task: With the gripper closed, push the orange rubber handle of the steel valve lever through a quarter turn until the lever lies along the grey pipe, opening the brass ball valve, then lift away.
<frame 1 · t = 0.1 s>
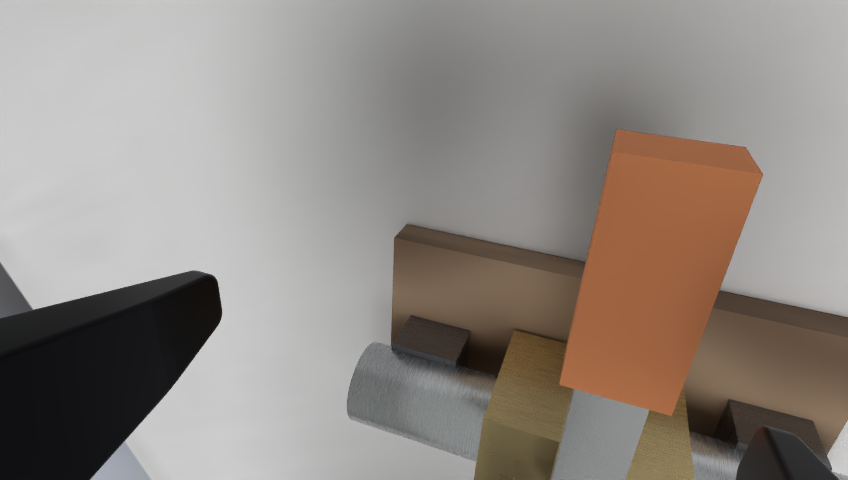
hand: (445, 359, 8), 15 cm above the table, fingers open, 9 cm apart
valve base: (585, 375, 25), on the table
lever: (601, 423, 14), point 10 cm above the table, hinge at 0.0°
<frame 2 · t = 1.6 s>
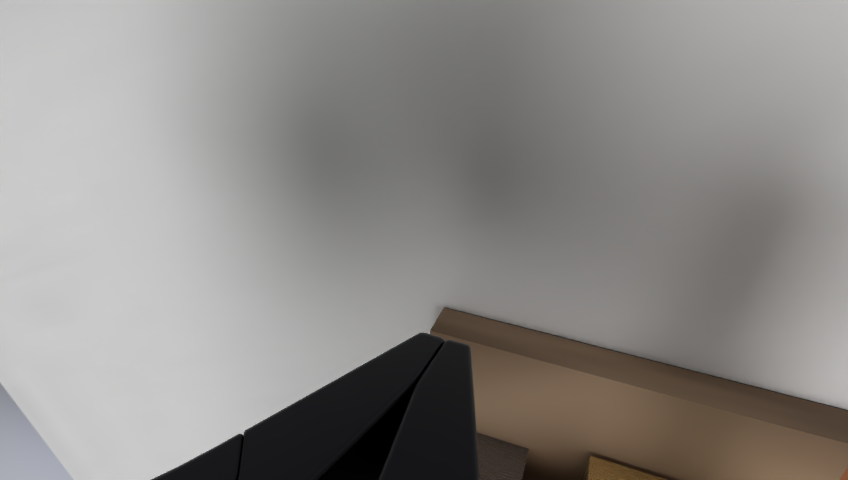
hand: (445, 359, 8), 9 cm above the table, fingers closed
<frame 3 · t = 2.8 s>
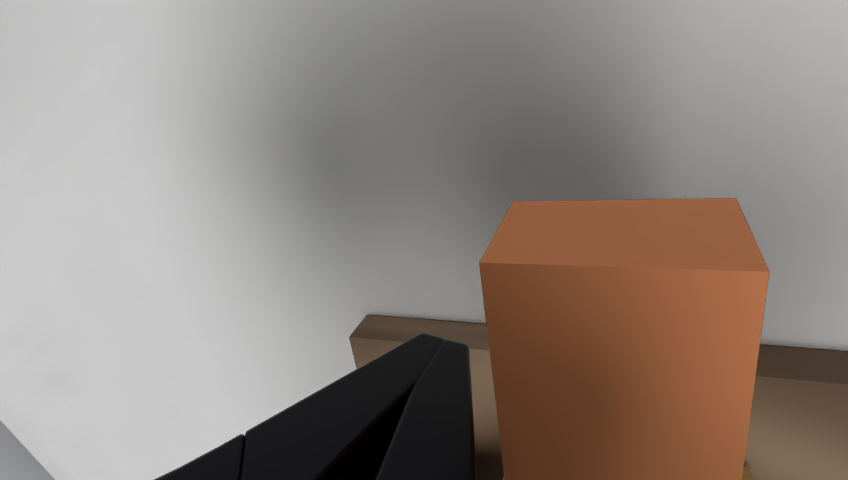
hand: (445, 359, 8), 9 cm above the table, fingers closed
valve base: (624, 469, 19), on the table
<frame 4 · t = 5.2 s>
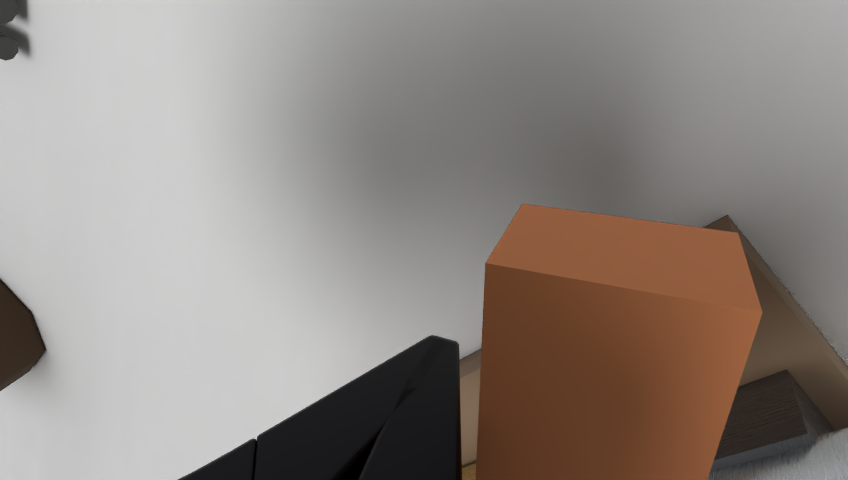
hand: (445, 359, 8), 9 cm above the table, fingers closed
valve base: (578, 464, 20), on the table
beer bottle: (5, 316, 33), on the table
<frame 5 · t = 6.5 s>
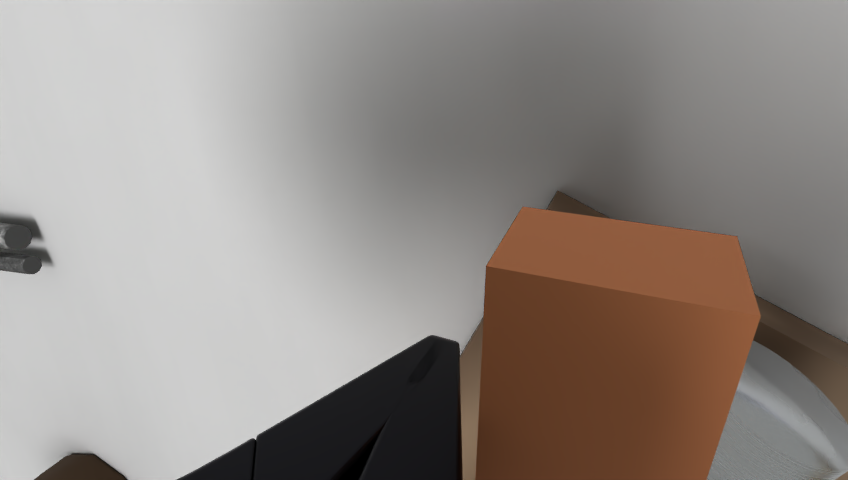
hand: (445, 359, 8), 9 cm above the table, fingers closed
valve base: (578, 466, 20), on the table
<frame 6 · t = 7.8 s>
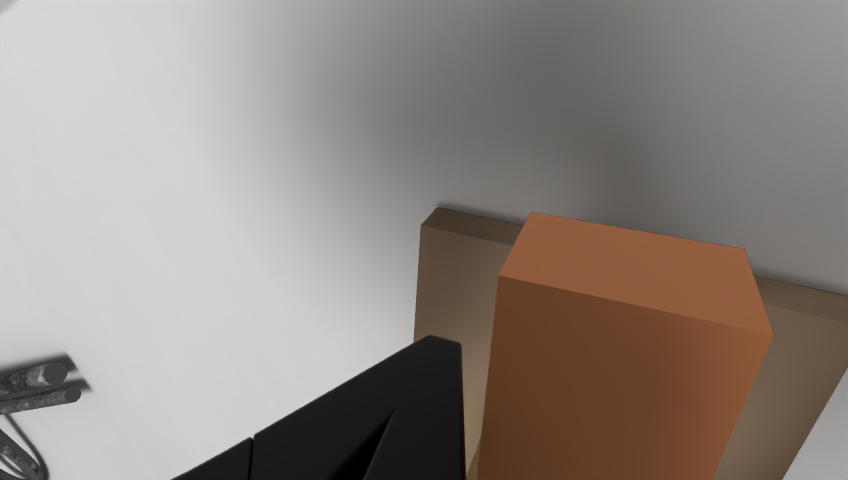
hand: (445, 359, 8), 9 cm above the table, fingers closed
valve base: (563, 458, 20), on the table
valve: (11, 404, 39), on the table
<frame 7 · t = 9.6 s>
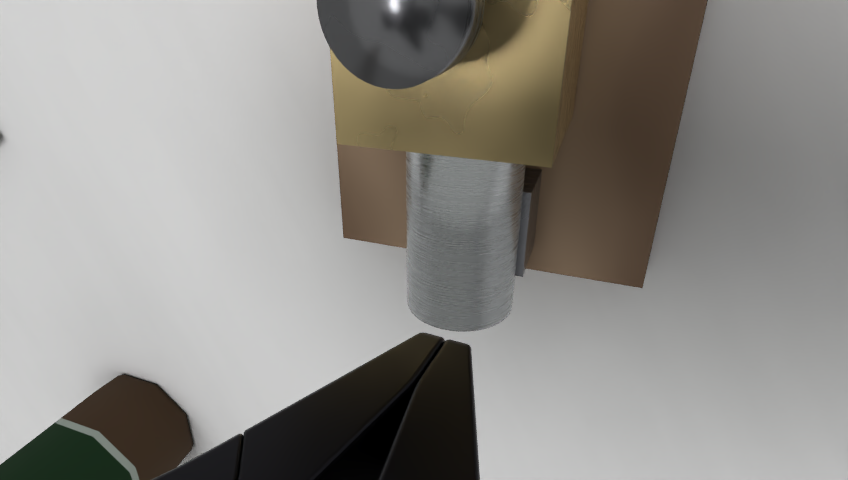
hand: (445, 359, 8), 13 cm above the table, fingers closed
beer bottle: (153, 414, 37), on the table
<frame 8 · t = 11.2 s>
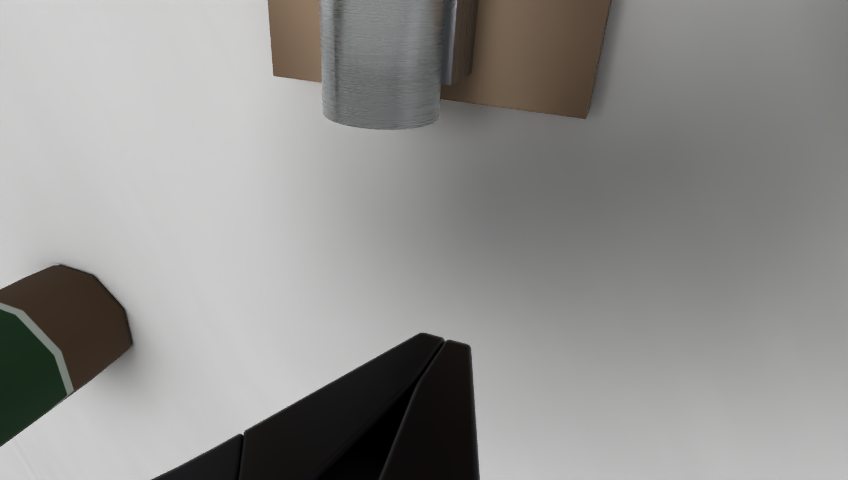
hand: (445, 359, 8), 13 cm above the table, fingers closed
beer bottle: (91, 311, 35), on the table
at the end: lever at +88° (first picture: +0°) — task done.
